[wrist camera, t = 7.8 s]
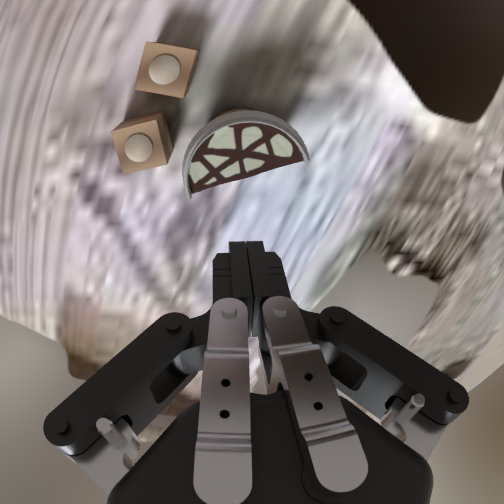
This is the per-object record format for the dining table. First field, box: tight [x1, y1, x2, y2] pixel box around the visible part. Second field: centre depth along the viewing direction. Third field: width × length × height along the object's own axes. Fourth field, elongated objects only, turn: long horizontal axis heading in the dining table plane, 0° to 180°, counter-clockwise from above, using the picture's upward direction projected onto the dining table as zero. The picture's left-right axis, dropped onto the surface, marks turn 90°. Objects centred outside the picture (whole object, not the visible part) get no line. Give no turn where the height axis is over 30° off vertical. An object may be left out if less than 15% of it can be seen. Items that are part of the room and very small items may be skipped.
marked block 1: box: [134, 42, 200, 98], centre depth 28 cm, size 5×5×5 cm
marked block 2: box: [111, 110, 173, 174], centre depth 32 cm, size 5×5×5 cm
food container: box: [182, 108, 310, 199], centre depth 31 cm, size 12×6×10 cm, turn 106°
